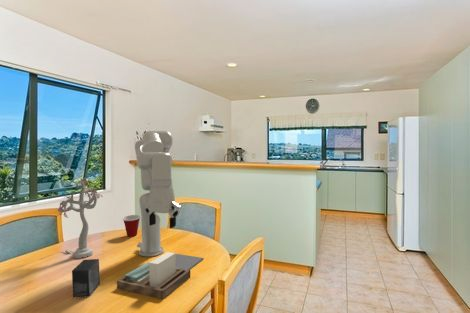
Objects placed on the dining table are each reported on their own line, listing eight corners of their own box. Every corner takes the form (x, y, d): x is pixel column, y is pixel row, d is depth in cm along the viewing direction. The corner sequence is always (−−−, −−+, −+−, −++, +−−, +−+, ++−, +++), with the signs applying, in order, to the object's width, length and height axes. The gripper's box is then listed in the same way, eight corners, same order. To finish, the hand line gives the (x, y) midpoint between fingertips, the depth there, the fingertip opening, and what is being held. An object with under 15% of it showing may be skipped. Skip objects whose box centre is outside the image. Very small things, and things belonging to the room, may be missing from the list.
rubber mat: (156, 266, 134) (156, 265, 134) (176, 254, 149) (176, 253, 149) (186, 272, 128) (186, 270, 128) (203, 259, 143) (203, 257, 143)
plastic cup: (119, 238, 177) (118, 218, 176) (128, 232, 187) (128, 214, 187) (135, 238, 175) (135, 219, 174) (143, 233, 186) (143, 215, 185)
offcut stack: (124, 286, 116) (124, 275, 115) (148, 271, 129) (147, 261, 129) (138, 289, 113) (138, 278, 113) (160, 274, 126) (160, 264, 126)
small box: (84, 284, 118) (83, 259, 117) (100, 283, 118) (100, 258, 118) (71, 297, 107) (70, 270, 107) (89, 297, 108) (89, 269, 107)
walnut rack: (116, 288, 114) (116, 280, 114) (148, 269, 132) (148, 262, 132) (163, 299, 106) (163, 291, 106) (190, 276, 123) (190, 270, 123)
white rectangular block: (149, 290, 112) (149, 262, 112) (167, 277, 123) (167, 252, 123) (158, 292, 111) (157, 264, 110) (175, 278, 122) (175, 253, 122)
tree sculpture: (38, 259, 143) (36, 179, 142) (78, 244, 165) (76, 175, 164) (81, 267, 134) (79, 181, 133) (117, 249, 156) (116, 176, 155)
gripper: (138, 183, 115) (138, 226, 116) (174, 185, 109) (175, 230, 110) (150, 181, 122) (150, 221, 123) (185, 183, 116) (185, 225, 116)
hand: (162, 225), depth 116 cm, fingers open, 9 cm apart
